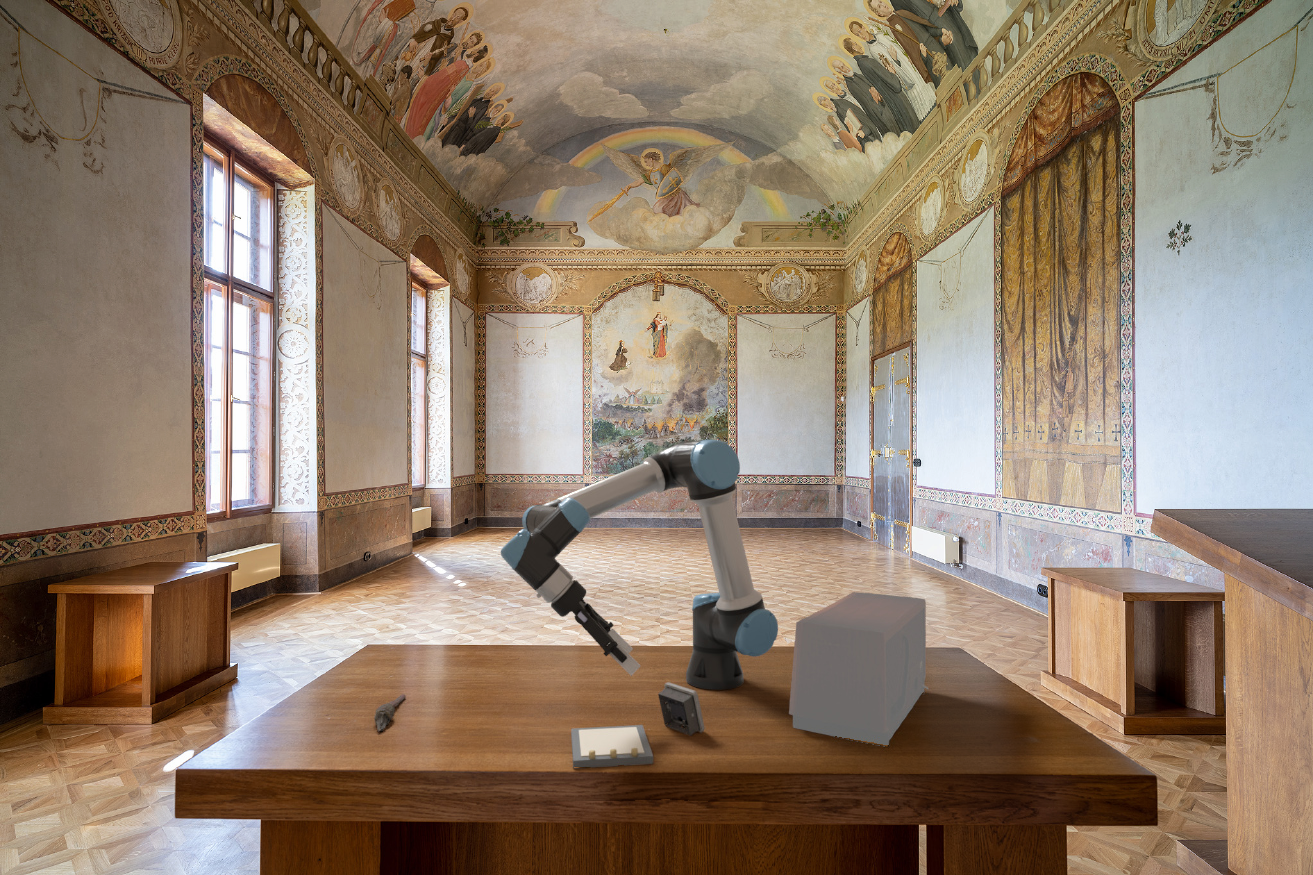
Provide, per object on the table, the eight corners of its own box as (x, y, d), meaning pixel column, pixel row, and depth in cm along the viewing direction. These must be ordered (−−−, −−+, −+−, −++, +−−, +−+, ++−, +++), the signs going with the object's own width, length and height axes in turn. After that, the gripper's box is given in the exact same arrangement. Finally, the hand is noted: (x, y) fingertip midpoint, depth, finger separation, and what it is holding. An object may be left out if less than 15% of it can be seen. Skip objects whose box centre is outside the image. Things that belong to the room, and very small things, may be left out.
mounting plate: (642, 731, 142) (642, 719, 142) (653, 763, 126) (653, 749, 126) (571, 735, 139) (571, 722, 139) (573, 768, 124) (573, 754, 124)
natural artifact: (372, 740, 140) (361, 725, 140) (402, 700, 162) (392, 687, 162) (388, 729, 140) (376, 714, 140) (415, 690, 163) (406, 677, 163)
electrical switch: (705, 732, 142) (702, 688, 141) (689, 741, 138) (686, 696, 138) (674, 720, 148) (671, 679, 148) (657, 729, 145) (654, 686, 145)
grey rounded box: (847, 677, 180) (847, 589, 182) (936, 693, 168) (935, 599, 169) (781, 730, 143) (781, 618, 144) (889, 755, 131) (888, 633, 132)
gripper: (549, 594, 153) (614, 658, 154) (548, 616, 128) (625, 693, 129) (573, 570, 154) (637, 634, 155) (576, 588, 129) (652, 664, 130)
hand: (632, 661), depth 142 cm, fingers open, 13 cm apart
